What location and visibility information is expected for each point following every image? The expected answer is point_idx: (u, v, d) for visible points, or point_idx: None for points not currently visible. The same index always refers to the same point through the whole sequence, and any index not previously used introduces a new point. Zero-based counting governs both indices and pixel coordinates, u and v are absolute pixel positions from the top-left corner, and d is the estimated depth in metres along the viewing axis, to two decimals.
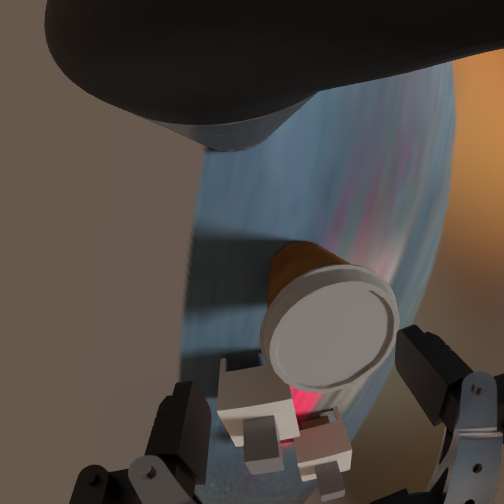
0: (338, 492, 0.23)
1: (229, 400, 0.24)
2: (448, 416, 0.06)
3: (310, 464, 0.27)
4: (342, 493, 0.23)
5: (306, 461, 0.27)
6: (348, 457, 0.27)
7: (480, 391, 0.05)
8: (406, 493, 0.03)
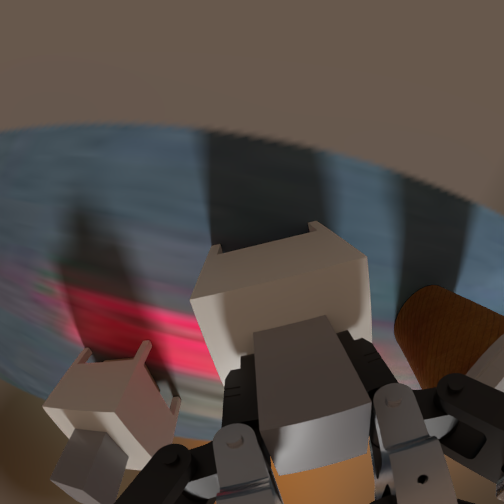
0: None
1: None
2: None
3: (112, 428, 0.13)
4: None
5: (123, 423, 0.13)
6: (138, 467, 0.14)
7: (392, 404, 0.06)
8: None
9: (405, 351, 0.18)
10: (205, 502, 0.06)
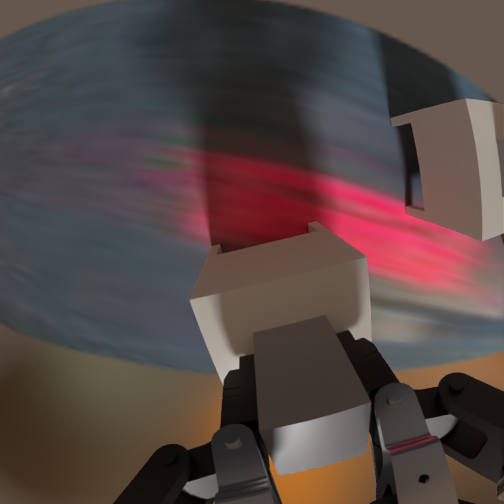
0: (349, 447, 0.07)
1: None
2: None
3: (343, 299, 0.11)
4: (320, 463, 0.07)
5: (366, 282, 0.11)
6: None
7: (394, 403, 0.06)
8: None
9: None
10: (204, 502, 0.06)
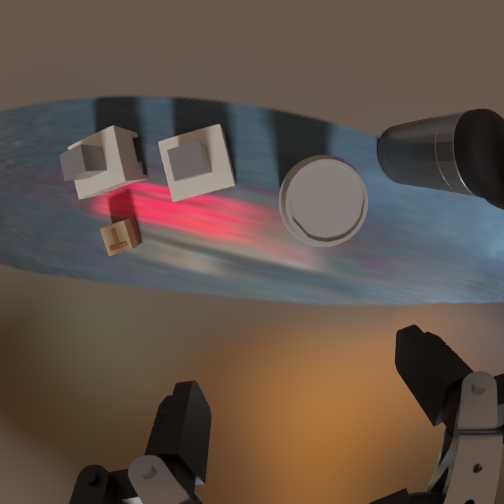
0: (79, 165, 0.23)
1: None
2: (448, 416, 0.06)
3: (107, 140, 0.27)
4: (73, 174, 0.23)
5: (114, 134, 0.27)
6: (109, 184, 0.29)
7: (480, 391, 0.05)
8: (406, 493, 0.03)
9: None
10: None
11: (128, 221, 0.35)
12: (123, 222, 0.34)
